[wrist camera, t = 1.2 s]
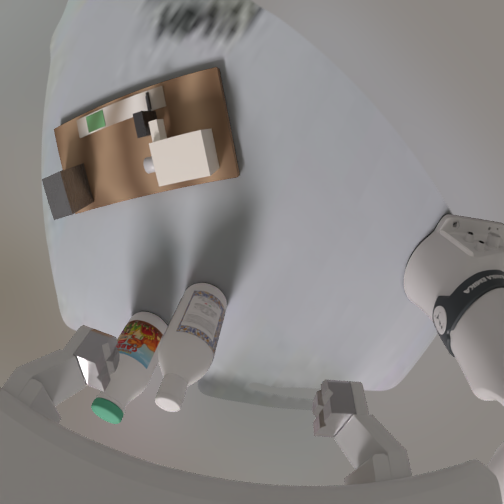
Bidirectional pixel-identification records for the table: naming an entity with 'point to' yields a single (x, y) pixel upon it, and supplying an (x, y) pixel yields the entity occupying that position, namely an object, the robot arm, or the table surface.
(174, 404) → the bath foam
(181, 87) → the wooden tray
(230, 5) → the table surface
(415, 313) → the table surface
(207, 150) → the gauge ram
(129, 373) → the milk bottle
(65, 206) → the dark grey cube
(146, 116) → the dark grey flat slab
